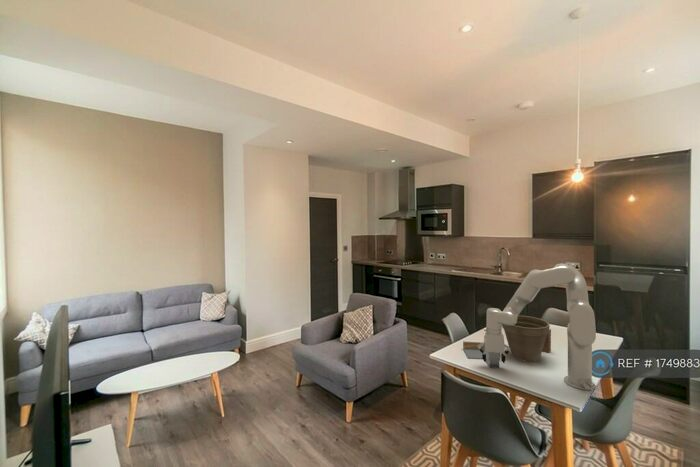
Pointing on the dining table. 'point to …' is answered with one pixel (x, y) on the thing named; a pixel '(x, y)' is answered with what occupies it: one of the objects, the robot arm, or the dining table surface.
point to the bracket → (493, 360)
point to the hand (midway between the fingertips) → (493, 361)
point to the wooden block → (547, 343)
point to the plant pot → (527, 337)
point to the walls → (473, 346)
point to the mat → (474, 354)
